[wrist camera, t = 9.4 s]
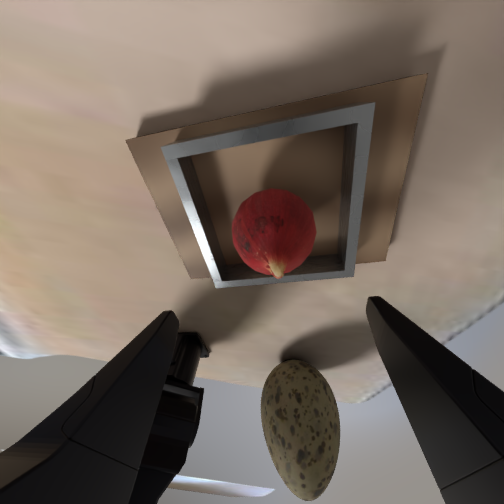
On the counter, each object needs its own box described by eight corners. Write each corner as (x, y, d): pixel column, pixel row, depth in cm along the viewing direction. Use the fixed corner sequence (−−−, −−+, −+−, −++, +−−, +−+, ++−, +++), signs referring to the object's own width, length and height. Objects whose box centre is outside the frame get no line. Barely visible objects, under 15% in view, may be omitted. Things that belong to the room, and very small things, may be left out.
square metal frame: (345, 259, 20) (353, 276, 18) (221, 271, 22) (216, 288, 20) (359, 102, 13) (375, 102, 11) (175, 141, 15) (160, 146, 13)
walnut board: (378, 252, 21) (385, 261, 20) (194, 270, 25) (191, 279, 23) (413, 75, 13) (428, 73, 12) (135, 137, 17) (125, 140, 15)
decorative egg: (308, 382, 39) (325, 509, 27) (253, 369, 38) (245, 497, 26) (340, 355, 33) (381, 503, 21) (276, 338, 32) (281, 487, 19)
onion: (228, 223, 19) (208, 288, 12) (255, 161, 16) (245, 205, 9) (285, 246, 20) (294, 317, 14) (321, 194, 17) (354, 253, 10)
